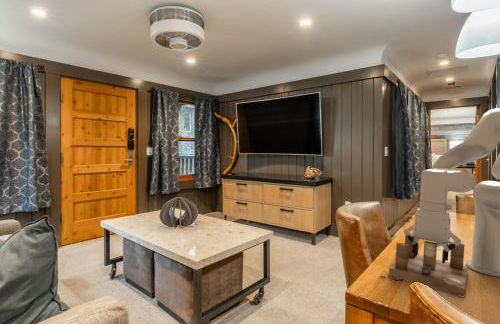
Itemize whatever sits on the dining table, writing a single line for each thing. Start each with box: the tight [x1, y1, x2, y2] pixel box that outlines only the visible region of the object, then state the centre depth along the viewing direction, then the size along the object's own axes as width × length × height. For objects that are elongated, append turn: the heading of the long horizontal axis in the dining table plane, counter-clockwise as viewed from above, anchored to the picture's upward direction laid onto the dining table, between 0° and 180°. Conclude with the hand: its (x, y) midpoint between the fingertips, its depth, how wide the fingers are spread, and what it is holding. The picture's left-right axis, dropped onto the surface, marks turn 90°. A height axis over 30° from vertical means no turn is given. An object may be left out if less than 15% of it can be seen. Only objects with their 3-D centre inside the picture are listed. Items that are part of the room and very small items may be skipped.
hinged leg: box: [422, 240, 438, 275], centre depth 92 cm, size 10×4×8 cm, turn 140°
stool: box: [388, 233, 469, 297], centre depth 95 cm, size 20×20×10 cm
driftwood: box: [435, 240, 452, 251], centre depth 126 cm, size 21×7×2 cm, turn 137°
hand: (429, 258), depth 95 cm, fingers open, 7 cm apart
